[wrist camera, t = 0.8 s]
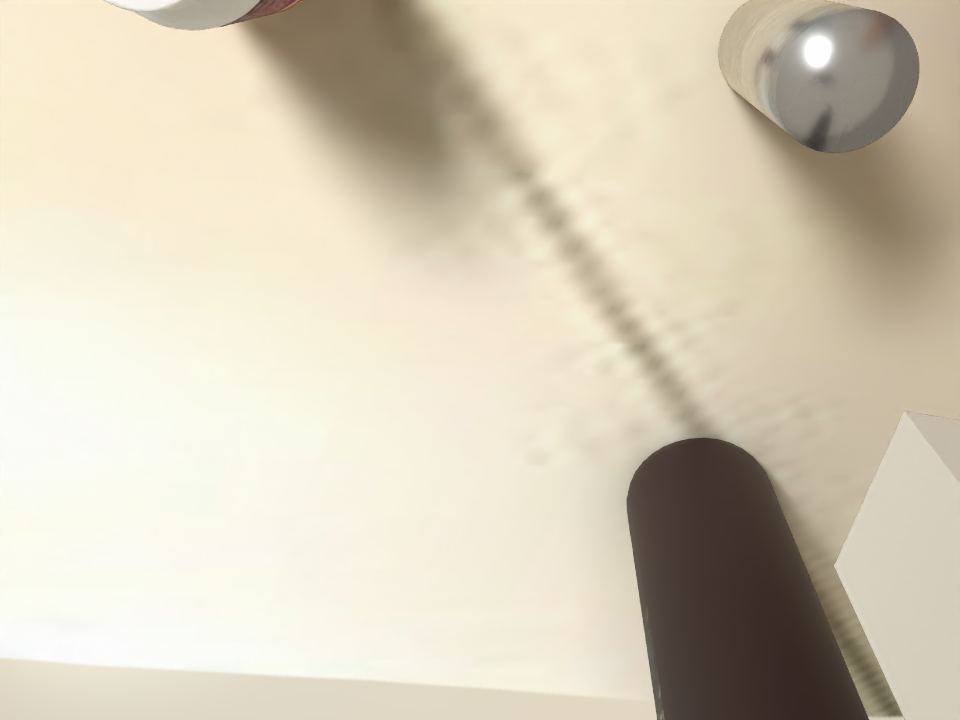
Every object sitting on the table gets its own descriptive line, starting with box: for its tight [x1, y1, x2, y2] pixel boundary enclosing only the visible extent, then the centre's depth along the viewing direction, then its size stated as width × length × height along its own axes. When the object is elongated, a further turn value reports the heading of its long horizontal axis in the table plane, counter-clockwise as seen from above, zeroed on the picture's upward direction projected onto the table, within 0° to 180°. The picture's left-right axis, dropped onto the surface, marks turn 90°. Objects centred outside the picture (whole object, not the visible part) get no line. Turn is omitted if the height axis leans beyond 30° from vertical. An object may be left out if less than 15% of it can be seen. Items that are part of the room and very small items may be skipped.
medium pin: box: [718, 0, 919, 153], centre depth 28 cm, size 4×4×9 cm
